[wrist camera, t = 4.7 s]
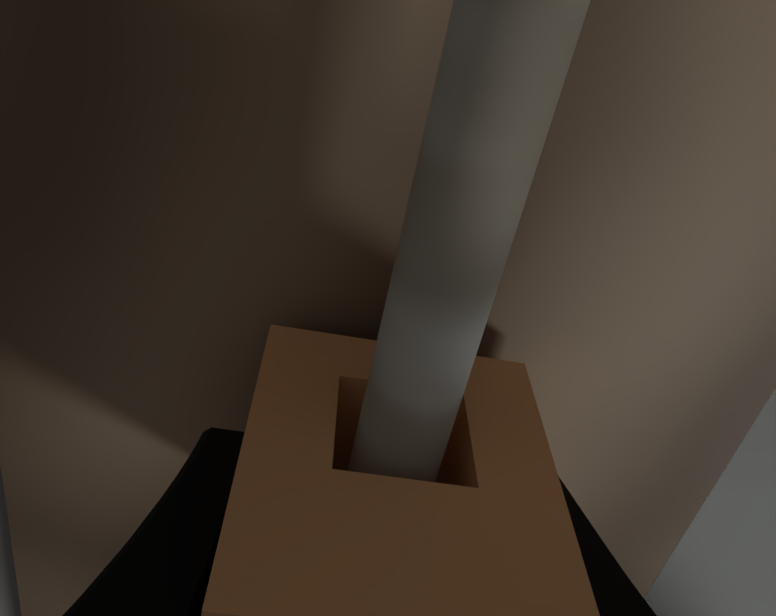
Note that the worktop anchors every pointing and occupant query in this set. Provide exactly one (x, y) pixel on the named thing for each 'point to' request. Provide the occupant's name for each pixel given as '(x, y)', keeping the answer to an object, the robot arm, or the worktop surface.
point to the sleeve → (391, 502)
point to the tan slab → (380, 243)
